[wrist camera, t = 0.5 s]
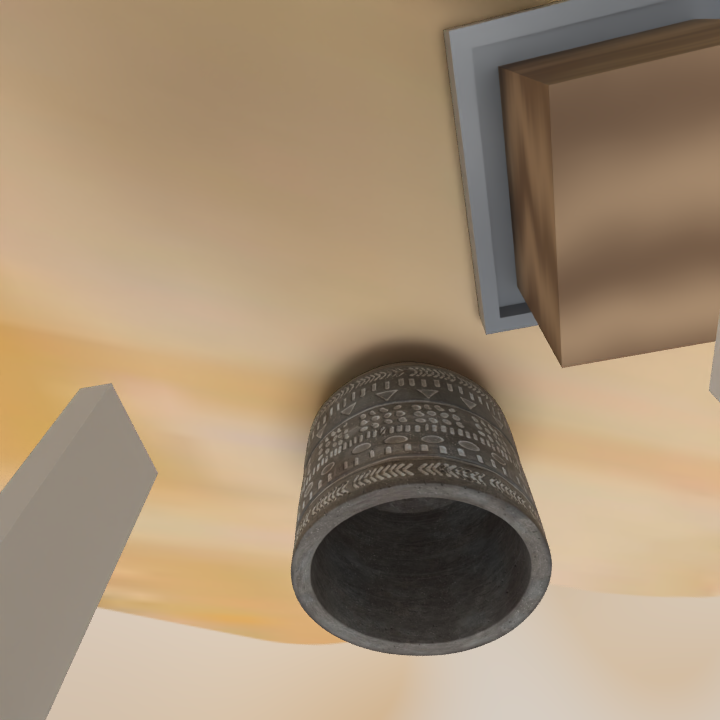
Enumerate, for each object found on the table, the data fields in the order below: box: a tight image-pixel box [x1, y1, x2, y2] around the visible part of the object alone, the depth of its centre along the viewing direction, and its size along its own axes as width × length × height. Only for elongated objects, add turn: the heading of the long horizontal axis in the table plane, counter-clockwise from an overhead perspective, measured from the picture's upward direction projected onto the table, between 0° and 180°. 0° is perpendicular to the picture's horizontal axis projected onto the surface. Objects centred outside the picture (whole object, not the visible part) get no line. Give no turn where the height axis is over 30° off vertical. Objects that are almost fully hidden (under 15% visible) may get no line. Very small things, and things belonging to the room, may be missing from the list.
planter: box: [291, 362, 552, 656], centre depth 37 cm, size 14×14×15 cm
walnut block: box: [498, 19, 720, 368], centre depth 29 cm, size 13×10×10 cm
